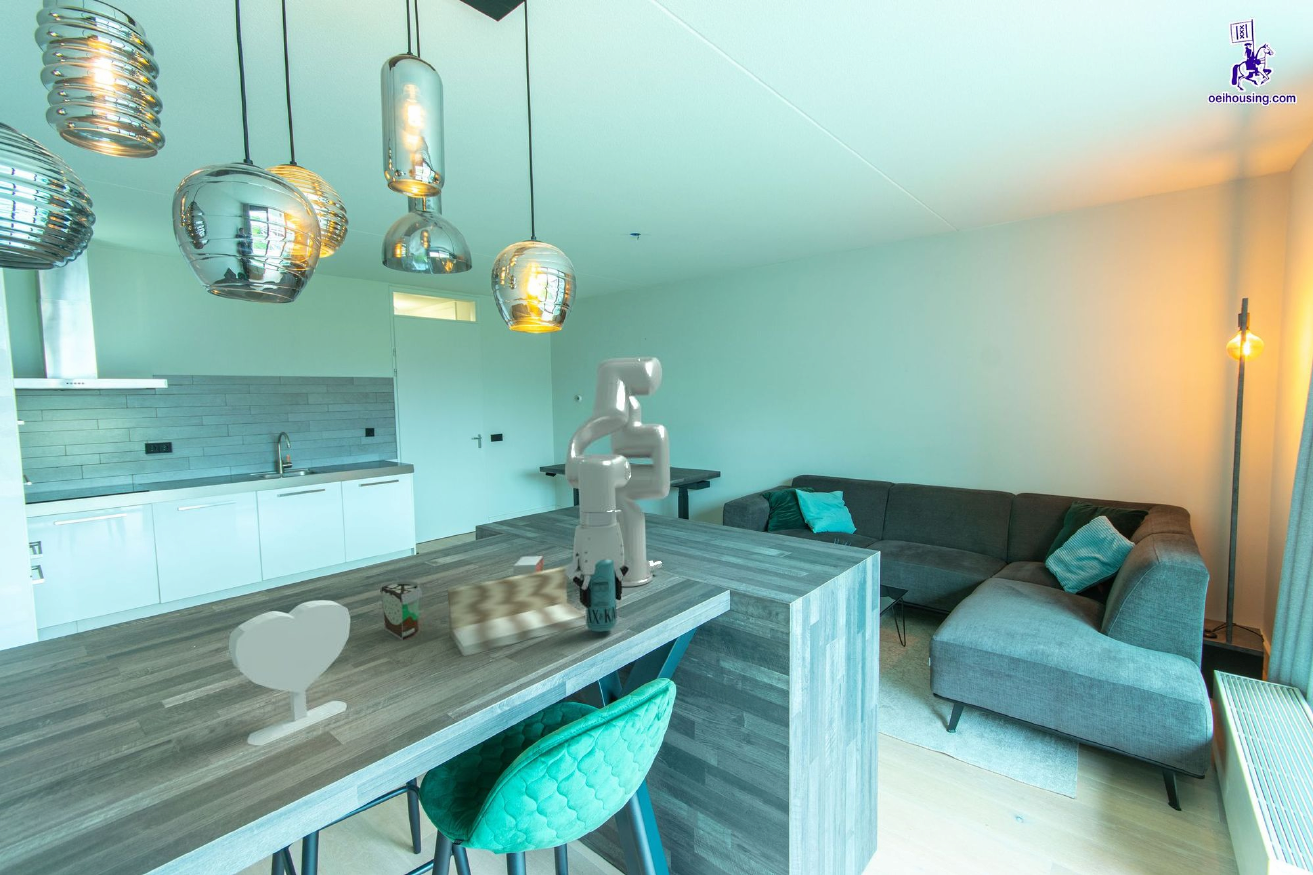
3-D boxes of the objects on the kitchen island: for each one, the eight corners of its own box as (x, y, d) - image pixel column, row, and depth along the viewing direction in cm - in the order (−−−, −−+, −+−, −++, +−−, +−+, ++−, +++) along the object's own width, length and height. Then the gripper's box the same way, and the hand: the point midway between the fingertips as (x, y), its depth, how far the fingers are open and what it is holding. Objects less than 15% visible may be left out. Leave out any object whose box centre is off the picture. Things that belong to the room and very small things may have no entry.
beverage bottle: (582, 629, 120) (578, 537, 119) (612, 623, 122) (608, 533, 121) (591, 641, 114) (587, 544, 113) (622, 634, 116) (618, 540, 115)
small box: (538, 608, 134) (536, 564, 133) (514, 608, 134) (512, 565, 133) (545, 596, 142) (543, 555, 141) (523, 596, 142) (521, 556, 141)
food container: (434, 632, 121) (431, 587, 120) (405, 642, 116) (402, 595, 116) (409, 618, 129) (407, 576, 129) (382, 627, 125) (379, 583, 124)
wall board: (564, 608, 133) (562, 566, 132) (585, 624, 123) (583, 579, 122) (450, 635, 119) (447, 589, 118) (463, 656, 109) (461, 606, 108)
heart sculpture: (345, 695, 95) (338, 592, 94) (358, 705, 92) (350, 598, 91) (234, 739, 83) (224, 621, 82) (244, 752, 80) (234, 629, 79)
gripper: (625, 510, 124) (628, 588, 126) (552, 521, 115) (555, 606, 116) (642, 515, 118) (645, 598, 119) (566, 527, 109) (570, 617, 110)
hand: (601, 601), depth 118 cm, fingers closed on beverage bottle, 6 cm apart
